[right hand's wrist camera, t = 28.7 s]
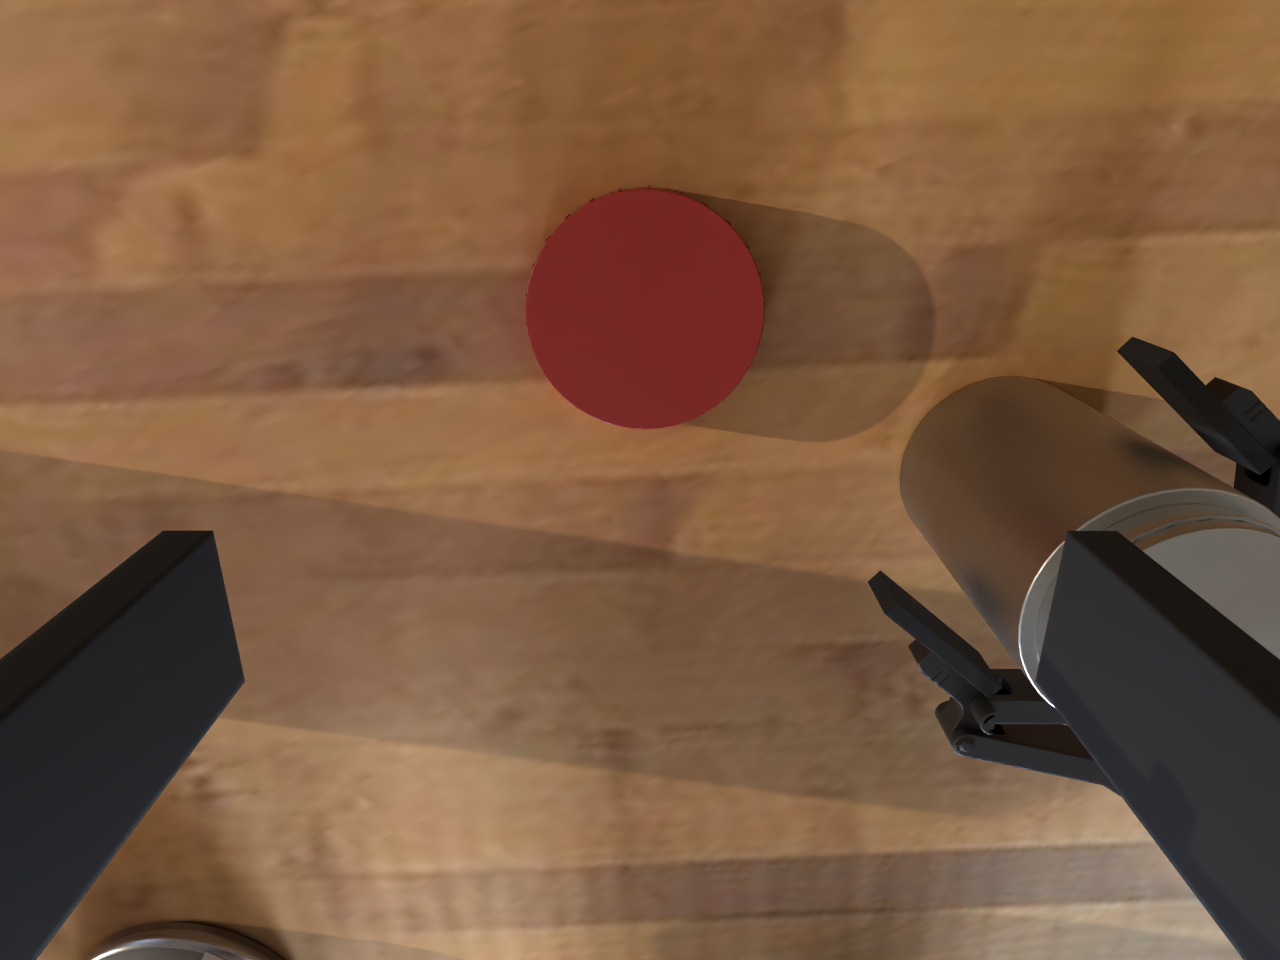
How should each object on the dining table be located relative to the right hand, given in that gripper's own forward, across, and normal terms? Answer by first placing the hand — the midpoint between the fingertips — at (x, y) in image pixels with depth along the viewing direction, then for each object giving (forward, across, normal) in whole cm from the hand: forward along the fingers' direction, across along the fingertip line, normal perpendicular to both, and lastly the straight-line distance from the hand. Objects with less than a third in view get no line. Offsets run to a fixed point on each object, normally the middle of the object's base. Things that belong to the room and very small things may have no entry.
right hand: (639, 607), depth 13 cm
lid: (+24, 0, 0) cm, 24 cm away
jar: (+26, +17, -8) cm, 32 cm away
